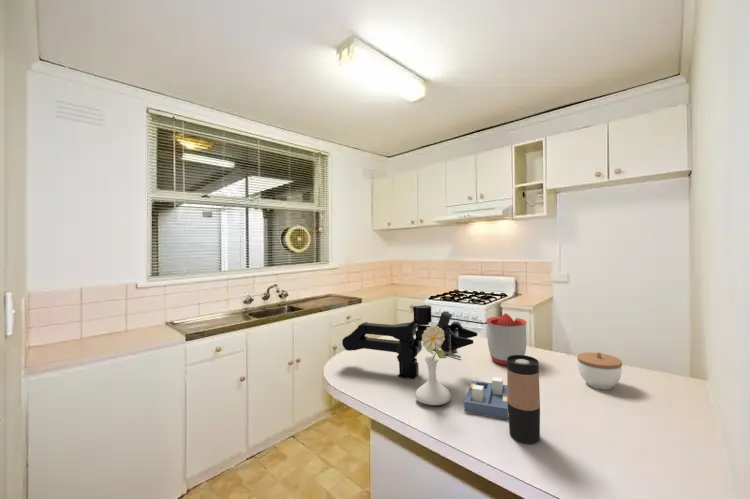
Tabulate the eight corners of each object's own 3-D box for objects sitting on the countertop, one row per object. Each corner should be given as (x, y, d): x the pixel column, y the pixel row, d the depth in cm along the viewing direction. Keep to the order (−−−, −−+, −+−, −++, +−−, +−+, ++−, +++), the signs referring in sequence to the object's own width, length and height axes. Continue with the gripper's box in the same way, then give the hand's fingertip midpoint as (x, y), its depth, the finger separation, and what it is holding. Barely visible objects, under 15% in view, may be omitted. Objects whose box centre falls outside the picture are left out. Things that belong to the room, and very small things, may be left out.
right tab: (492, 394, 106) (492, 380, 106) (493, 390, 109) (492, 376, 109) (502, 395, 105) (502, 381, 105) (503, 391, 108) (502, 378, 108)
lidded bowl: (574, 386, 113) (573, 354, 113) (582, 374, 122) (581, 344, 122) (619, 397, 105) (619, 362, 104) (624, 383, 114) (624, 351, 114)
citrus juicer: (530, 356, 142) (529, 310, 141) (524, 371, 127) (523, 319, 127) (493, 351, 150) (491, 307, 150) (483, 364, 136) (481, 315, 135)
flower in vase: (408, 396, 110) (406, 321, 109) (437, 389, 114) (435, 317, 114) (430, 415, 98) (427, 331, 97) (461, 406, 102) (459, 325, 102)
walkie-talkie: (423, 350, 157) (459, 361, 141) (423, 340, 157) (458, 350, 141) (436, 345, 162) (471, 356, 147) (435, 337, 162) (470, 346, 147)
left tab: (472, 402, 101) (472, 388, 101) (473, 398, 104) (473, 384, 104) (482, 404, 100) (482, 390, 100) (484, 399, 103) (483, 385, 102)
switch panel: (464, 411, 99) (463, 400, 99) (472, 389, 114) (472, 379, 114) (507, 419, 94) (507, 408, 94) (510, 394, 109) (509, 385, 109)
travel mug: (503, 429, 89) (501, 355, 89) (530, 426, 90) (528, 353, 90) (517, 446, 82) (515, 366, 81) (547, 443, 82) (545, 364, 82)
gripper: (424, 318, 115) (470, 321, 108) (437, 307, 131) (478, 309, 125) (425, 350, 115) (471, 355, 108) (438, 335, 132) (479, 339, 125)
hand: (475, 337), depth 117 cm, fingers open, 9 cm apart
